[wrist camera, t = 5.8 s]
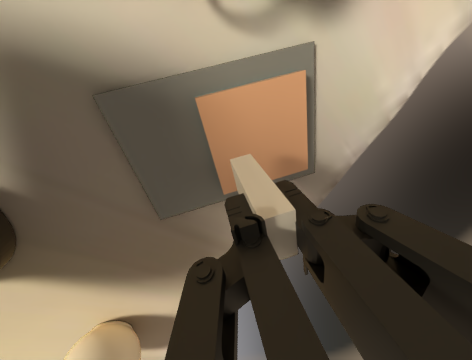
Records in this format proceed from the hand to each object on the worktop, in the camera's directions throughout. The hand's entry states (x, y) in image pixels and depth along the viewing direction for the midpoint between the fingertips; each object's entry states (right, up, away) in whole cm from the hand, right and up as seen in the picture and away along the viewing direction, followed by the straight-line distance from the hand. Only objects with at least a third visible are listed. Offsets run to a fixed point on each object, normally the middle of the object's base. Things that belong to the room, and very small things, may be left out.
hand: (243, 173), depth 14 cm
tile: (-3, +3, +5) cm, 7 cm away
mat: (-2, +4, +7) cm, 8 cm away
